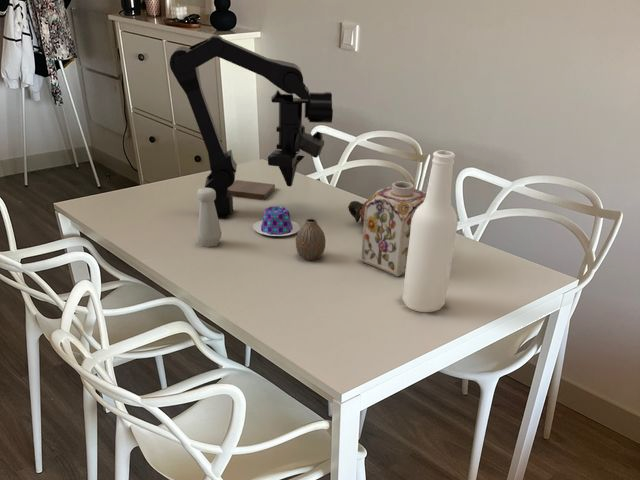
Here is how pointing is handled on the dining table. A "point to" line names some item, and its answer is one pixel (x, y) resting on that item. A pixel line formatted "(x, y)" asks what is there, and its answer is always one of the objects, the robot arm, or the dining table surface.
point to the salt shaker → (208, 218)
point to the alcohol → (432, 240)
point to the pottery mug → (357, 210)
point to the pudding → (276, 223)
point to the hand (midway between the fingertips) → (289, 186)
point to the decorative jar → (390, 226)
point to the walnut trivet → (251, 189)
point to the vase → (310, 240)
